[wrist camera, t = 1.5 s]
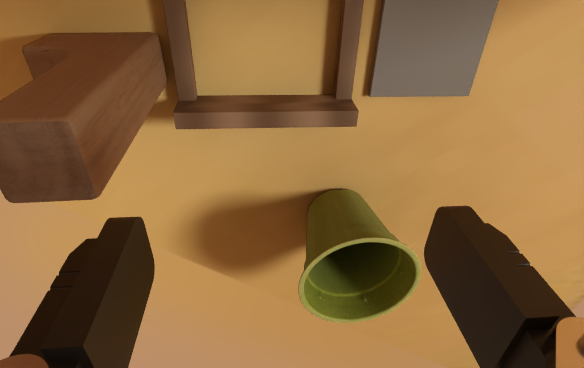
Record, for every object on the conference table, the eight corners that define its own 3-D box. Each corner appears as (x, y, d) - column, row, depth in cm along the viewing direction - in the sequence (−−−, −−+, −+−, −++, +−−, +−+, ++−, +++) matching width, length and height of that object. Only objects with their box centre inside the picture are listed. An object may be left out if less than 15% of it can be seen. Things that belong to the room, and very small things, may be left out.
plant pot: (357, 255, 48) (383, 330, 39) (274, 235, 44) (280, 313, 35) (404, 185, 42) (447, 255, 33) (312, 157, 39) (331, 225, 29)
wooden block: (66, 86, 32) (-93, 211, 17) (47, 32, 30) (-159, 126, 15) (168, 83, 33) (99, 202, 18) (158, 31, 30) (69, 119, 15)
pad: (504, -34, 30) (509, -34, 29) (465, 93, 36) (468, 96, 36) (388, -37, 29) (390, -37, 28) (368, 94, 35) (370, 96, 35)
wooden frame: (366, -61, 28) (382, -61, 25) (346, 109, 36) (356, 126, 33) (155, -67, 27) (142, -68, 23) (183, 111, 34) (175, 129, 31)
